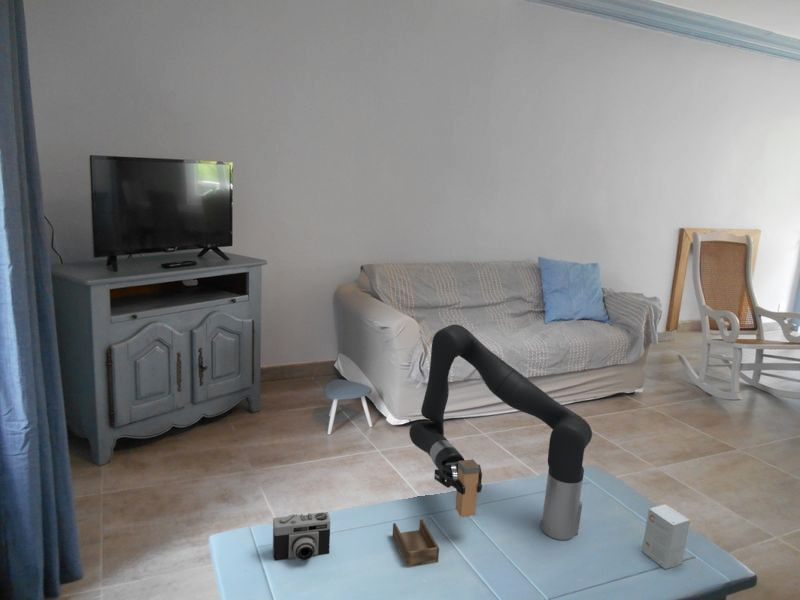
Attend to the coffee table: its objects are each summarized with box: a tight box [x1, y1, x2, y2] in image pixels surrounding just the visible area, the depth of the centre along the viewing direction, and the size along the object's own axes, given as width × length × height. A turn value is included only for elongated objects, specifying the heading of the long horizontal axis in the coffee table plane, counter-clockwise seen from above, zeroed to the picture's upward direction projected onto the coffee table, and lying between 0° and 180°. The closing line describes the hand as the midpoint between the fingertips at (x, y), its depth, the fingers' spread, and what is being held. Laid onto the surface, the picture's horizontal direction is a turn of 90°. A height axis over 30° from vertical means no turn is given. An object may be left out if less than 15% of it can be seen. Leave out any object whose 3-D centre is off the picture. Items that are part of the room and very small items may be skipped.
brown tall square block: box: [454, 458, 481, 518], centre depth 159 cm, size 4×4×14 cm
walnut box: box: [392, 519, 440, 568], centre depth 157 cm, size 8×13×4 cm, turn 18°
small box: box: [641, 503, 691, 570], centre depth 158 cm, size 8×6×13 cm
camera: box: [272, 511, 331, 562], centre depth 150 cm, size 14×8×10 cm, turn 106°
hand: (471, 490), depth 156 cm, fingers closed on brown tall square block, 4 cm apart
